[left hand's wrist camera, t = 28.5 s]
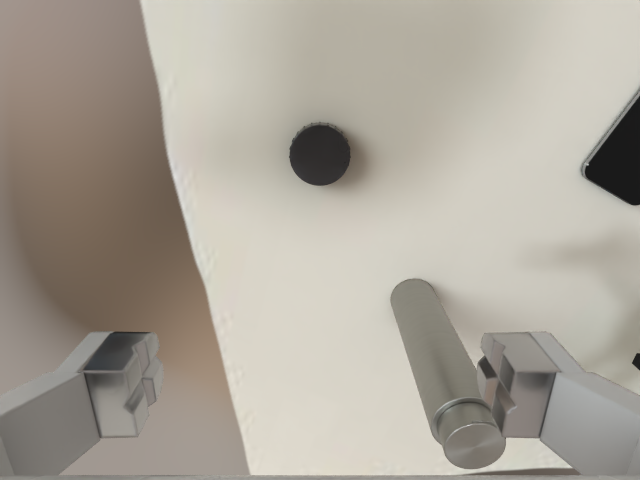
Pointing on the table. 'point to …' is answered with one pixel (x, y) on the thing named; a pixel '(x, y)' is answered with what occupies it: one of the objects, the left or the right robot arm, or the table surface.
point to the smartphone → (619, 157)
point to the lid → (319, 154)
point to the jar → (445, 378)
